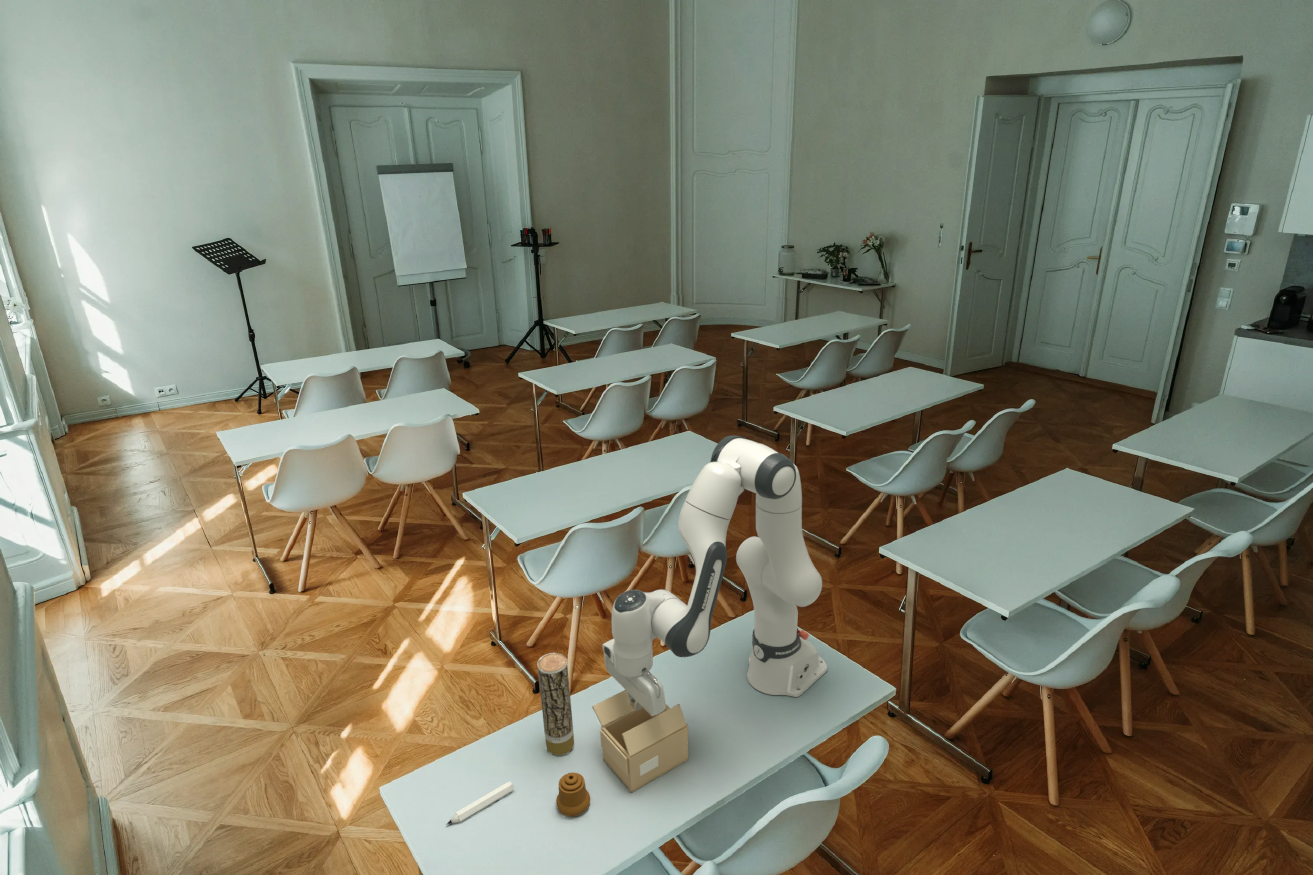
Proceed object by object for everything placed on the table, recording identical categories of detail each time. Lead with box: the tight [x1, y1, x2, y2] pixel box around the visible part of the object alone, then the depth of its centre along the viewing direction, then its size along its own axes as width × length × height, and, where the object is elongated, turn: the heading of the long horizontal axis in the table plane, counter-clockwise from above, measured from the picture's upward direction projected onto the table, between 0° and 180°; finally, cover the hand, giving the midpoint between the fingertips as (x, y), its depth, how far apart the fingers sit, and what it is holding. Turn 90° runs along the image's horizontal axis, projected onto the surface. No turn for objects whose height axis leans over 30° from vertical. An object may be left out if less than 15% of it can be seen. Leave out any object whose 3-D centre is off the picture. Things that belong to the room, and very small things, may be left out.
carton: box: [599, 702, 689, 793], centre depth 180 cm, size 17×12×10 cm
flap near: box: [622, 703, 687, 756], centre depth 174 cm, size 16×1×5 cm, turn 125°
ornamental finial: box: [555, 772, 591, 817], centre depth 169 cm, size 8×8×8 cm
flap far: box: [591, 689, 635, 727], centre depth 183 cm, size 16×1×5 cm
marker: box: [445, 780, 515, 826], centre depth 171 cm, size 3×2×16 cm
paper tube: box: [536, 652, 575, 756], centre depth 182 cm, size 7×7×25 cm
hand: (635, 706), depth 179 cm, fingers closed
